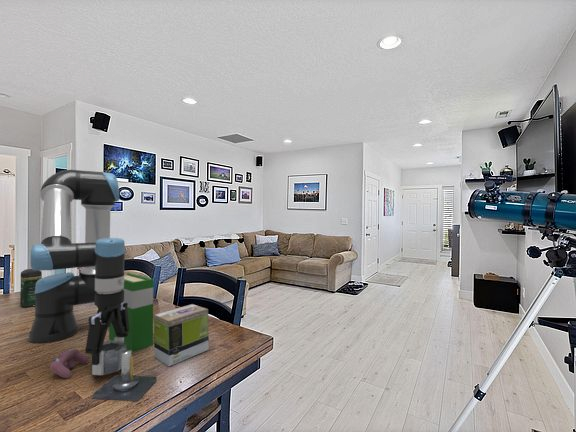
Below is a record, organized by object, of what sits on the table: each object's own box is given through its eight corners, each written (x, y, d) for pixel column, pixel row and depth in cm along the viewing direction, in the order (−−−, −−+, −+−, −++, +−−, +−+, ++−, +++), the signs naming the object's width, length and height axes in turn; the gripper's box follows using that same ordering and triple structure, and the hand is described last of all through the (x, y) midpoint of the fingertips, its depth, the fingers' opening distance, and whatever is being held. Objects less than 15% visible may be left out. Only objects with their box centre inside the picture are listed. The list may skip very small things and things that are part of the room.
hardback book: (109, 339, 111) (109, 276, 111) (129, 333, 117) (129, 273, 117) (132, 352, 100) (132, 282, 100) (152, 345, 106) (153, 279, 106)
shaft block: (93, 398, 75) (93, 358, 75) (116, 378, 84) (116, 343, 84) (137, 401, 74) (137, 361, 74) (156, 381, 83) (156, 345, 83)
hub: (84, 373, 84) (84, 352, 83) (105, 358, 92) (105, 339, 92) (112, 375, 83) (112, 354, 83) (130, 360, 91) (131, 341, 91)
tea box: (193, 342, 109) (193, 302, 109) (209, 350, 102) (209, 308, 102) (152, 357, 97) (153, 313, 97) (168, 367, 91) (168, 320, 91)
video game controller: (77, 367, 93) (66, 348, 93) (90, 360, 94) (80, 341, 93) (55, 385, 83) (43, 364, 83) (70, 377, 84) (59, 356, 83)
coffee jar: (43, 305, 151) (43, 269, 151) (22, 309, 144) (23, 271, 144) (38, 301, 157) (38, 267, 156) (18, 305, 150) (18, 269, 150)
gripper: (95, 302, 76) (94, 388, 77) (142, 282, 97) (141, 349, 98) (68, 300, 77) (67, 386, 77) (120, 281, 98) (120, 348, 98)
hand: (108, 365), depth 87 cm, fingers closed on hub, 8 cm apart
